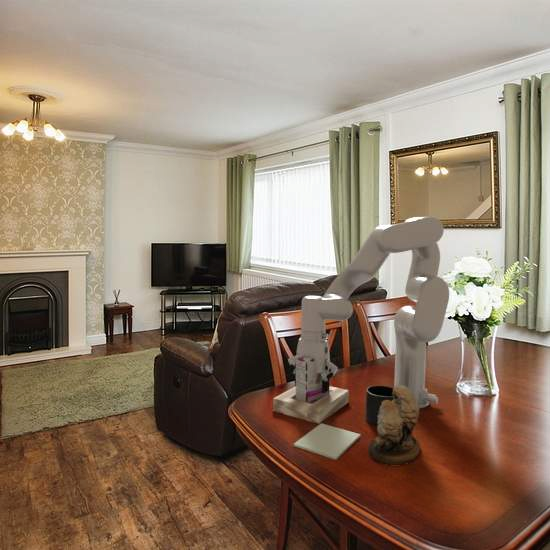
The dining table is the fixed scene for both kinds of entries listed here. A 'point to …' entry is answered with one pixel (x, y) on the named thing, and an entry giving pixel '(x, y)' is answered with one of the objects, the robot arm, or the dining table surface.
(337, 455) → the mat
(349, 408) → the dining table surface
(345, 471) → the dining table surface
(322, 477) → the dining table surface
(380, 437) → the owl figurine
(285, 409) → the board
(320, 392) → the candy bar box
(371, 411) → the mug
